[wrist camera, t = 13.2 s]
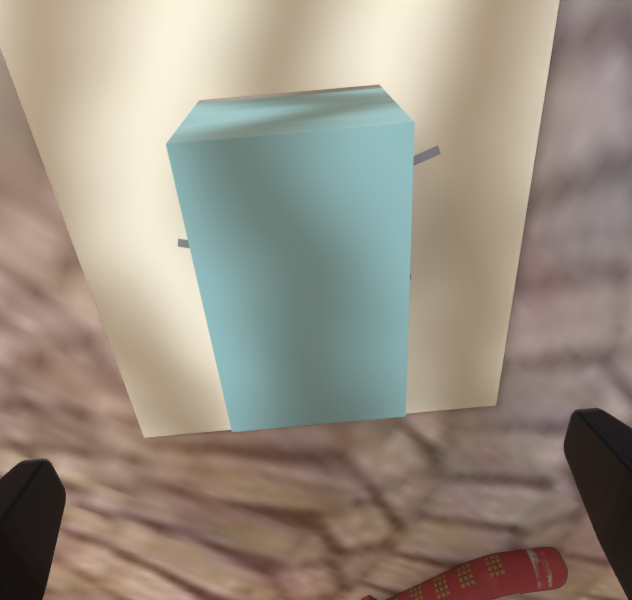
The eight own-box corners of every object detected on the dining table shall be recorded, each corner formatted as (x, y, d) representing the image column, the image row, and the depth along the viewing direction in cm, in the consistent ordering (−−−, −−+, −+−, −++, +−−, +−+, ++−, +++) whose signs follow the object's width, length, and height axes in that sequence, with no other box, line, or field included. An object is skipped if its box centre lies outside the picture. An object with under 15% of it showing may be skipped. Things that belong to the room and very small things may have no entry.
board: (630, -606, 10) (664, -663, 9) (488, 390, 24) (496, 405, 23) (-187, -534, 10) (-233, -584, 9) (149, 421, 24) (144, 437, 23)
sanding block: (379, 84, 15) (414, 122, 11) (380, 325, 20) (405, 416, 16) (199, 100, 15) (165, 144, 11) (243, 338, 20) (231, 432, 16)
